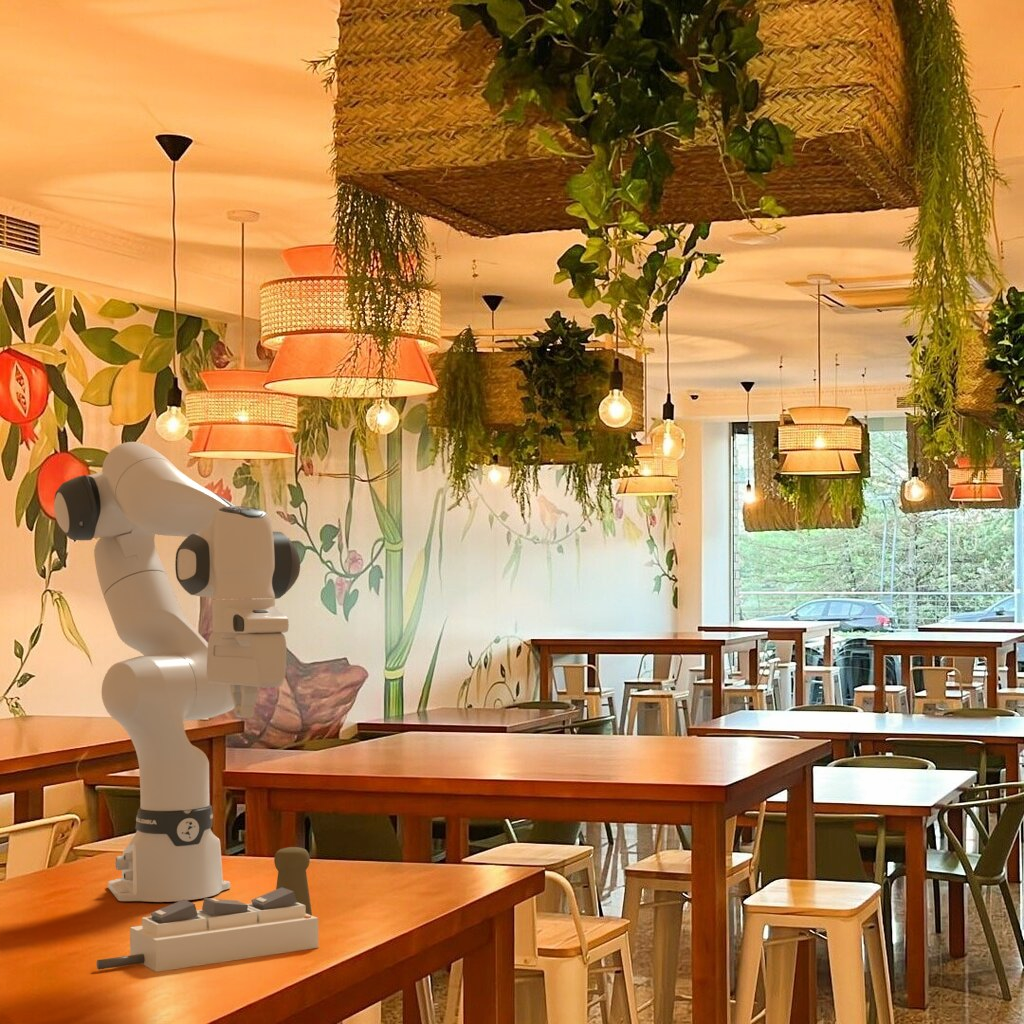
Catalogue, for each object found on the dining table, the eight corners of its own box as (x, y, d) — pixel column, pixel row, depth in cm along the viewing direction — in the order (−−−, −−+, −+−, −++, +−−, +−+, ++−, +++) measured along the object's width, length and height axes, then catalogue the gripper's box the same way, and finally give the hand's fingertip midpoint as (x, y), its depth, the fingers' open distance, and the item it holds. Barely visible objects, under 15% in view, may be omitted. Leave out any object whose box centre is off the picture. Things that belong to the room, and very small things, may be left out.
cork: (315, 918, 231) (314, 844, 231) (311, 927, 225) (310, 850, 225) (274, 919, 231) (273, 845, 231) (269, 928, 224) (268, 851, 225)
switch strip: (86, 963, 204) (85, 921, 204) (287, 934, 220) (287, 895, 220) (110, 978, 195) (110, 934, 196) (318, 947, 211) (318, 906, 212)
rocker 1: (153, 924, 206) (150, 911, 206) (186, 910, 209) (183, 898, 208) (164, 929, 203) (160, 916, 203) (197, 915, 205) (194, 902, 205)
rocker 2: (201, 910, 210) (204, 897, 210) (234, 912, 212) (236, 899, 213) (213, 914, 206) (215, 901, 207) (246, 917, 209) (248, 904, 209)
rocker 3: (254, 911, 214) (250, 899, 214) (284, 898, 216) (281, 886, 216) (265, 915, 210) (262, 903, 210) (296, 902, 213) (293, 890, 213)
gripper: (195, 619, 227) (195, 714, 226) (251, 620, 210) (252, 722, 209) (235, 619, 230) (236, 712, 229) (294, 619, 213) (294, 720, 212)
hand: (244, 717), depth 219 cm, fingers closed
